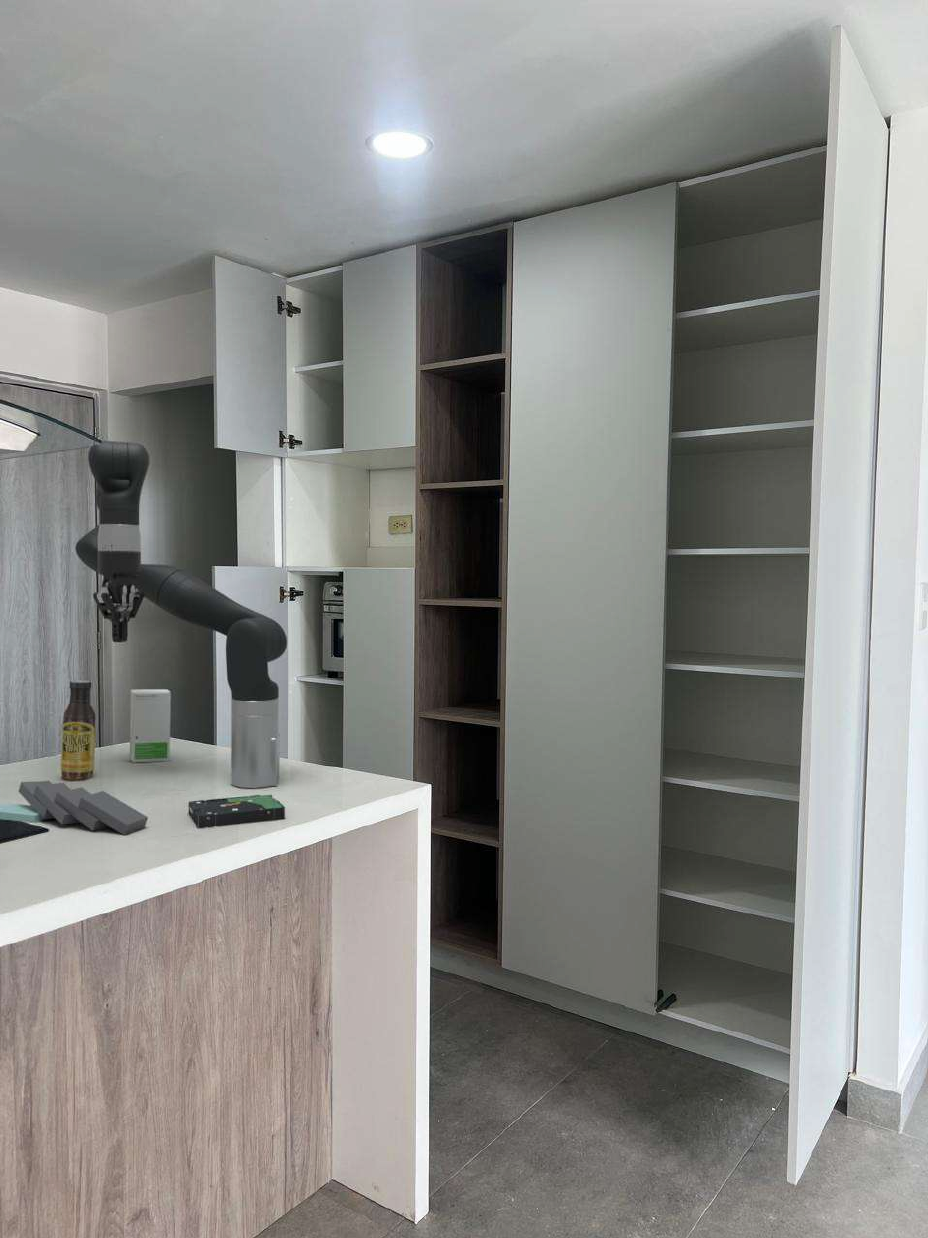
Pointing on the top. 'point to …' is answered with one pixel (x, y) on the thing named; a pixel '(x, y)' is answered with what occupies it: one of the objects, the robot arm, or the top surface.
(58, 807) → the domino
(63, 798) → the domino
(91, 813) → the domino
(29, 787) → the domino
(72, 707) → the sauce bottle
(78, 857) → the top surface
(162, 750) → the skincare box
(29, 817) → the domino
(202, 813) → the disk drive
